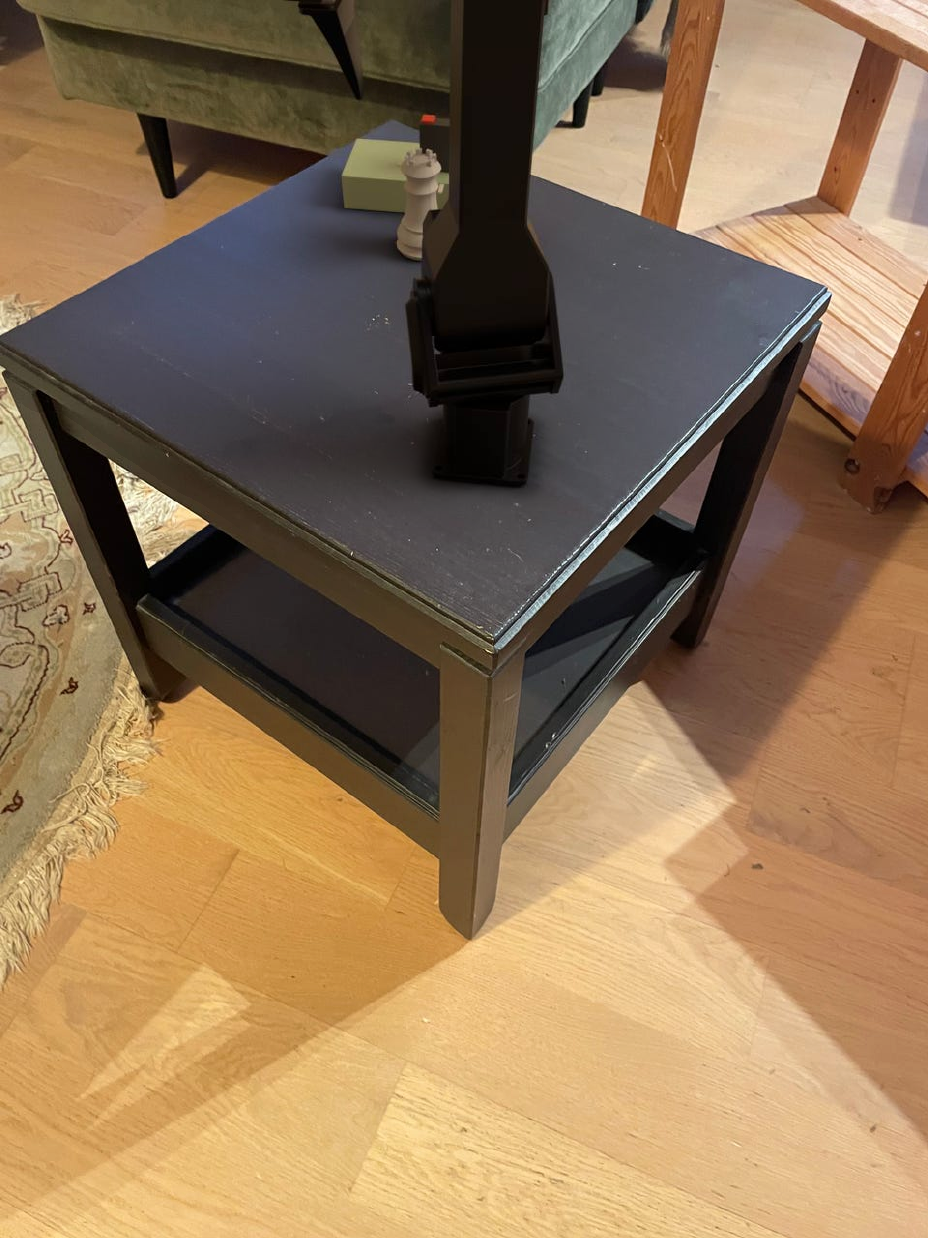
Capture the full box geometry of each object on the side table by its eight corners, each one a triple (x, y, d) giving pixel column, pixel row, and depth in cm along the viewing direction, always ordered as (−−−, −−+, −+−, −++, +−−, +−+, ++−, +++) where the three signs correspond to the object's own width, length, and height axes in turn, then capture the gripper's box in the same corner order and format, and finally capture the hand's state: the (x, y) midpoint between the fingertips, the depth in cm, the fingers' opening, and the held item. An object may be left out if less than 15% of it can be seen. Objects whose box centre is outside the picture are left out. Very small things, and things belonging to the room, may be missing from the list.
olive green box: (488, 230, 82) (489, 195, 79) (340, 218, 83) (336, 183, 80) (497, 180, 87) (499, 146, 85) (358, 170, 88) (356, 136, 86)
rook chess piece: (458, 249, 80) (460, 156, 74) (420, 268, 78) (418, 175, 72) (424, 228, 82) (423, 136, 76) (386, 247, 80) (380, 154, 74)
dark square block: (472, 166, 83) (473, 117, 79) (470, 174, 82) (471, 124, 78) (422, 162, 83) (421, 113, 80) (420, 170, 82) (418, 120, 79)
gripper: (568, -185, 62) (548, 66, 75) (297, -199, 64) (321, 50, 76) (559, -137, 56) (538, 129, 68) (256, -154, 57) (290, 111, 69)
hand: (419, 102), depth 71 cm, fingers open, 9 cm apart
